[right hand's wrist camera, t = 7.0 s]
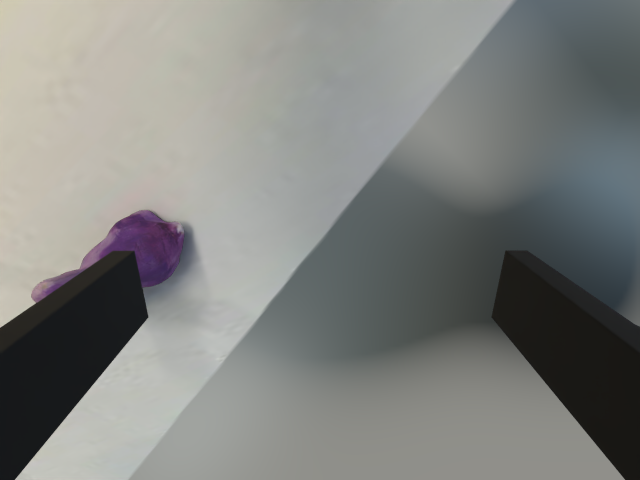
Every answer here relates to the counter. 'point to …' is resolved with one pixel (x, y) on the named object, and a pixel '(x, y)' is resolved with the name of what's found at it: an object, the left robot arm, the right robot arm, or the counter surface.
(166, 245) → the figurine
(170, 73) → the counter surface
